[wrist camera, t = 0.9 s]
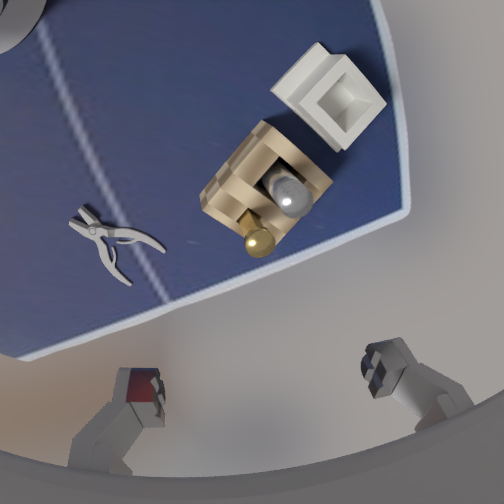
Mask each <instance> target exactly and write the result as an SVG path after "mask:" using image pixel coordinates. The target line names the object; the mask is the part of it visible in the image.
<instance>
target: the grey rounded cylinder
mask: <svg viewBox="0 0 504 504" xmlns="http://www.w3.org/2000/svg"><path fill="white" fill-rule="evenodd" d="M259 180H260V181H261V183H262V184H263V186H264V187H265V188H266V190H267V191H268V192H269V194H270V195H271V197H272V198H273V199H274V201H275V202H276V204H277V205H278V206H279V208H280V209H281V211H282V212H283V213H284V215H285V216H287V217H289V218H293V219H297V218H301V217H303V216H305V215H306V214H307V213H308V212H309V211H310V210H311V208H312V206H313V202H314V199H313V195H312V193H311V192H310V191H309V190H308V189H307V188H306V187H305V186H304V185H303V184H302V183H301V182H300V181H299V180H298V179H297V178H296V177H295V176H294V175H293V174H292V173H291V172H290V171H289V170H288V169H287V168H286V167H285V166H284V165H282V164H281V163H280V162H279V161H278V160H277V159H276V160H275V162H274V163H273V164H272V165H271V166H270V167H269V168H268V170H267V171H266V172H265V173H264V174H263V175H262V177H261V178H260V179H259Z"/></svg>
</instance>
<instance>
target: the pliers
mask: <svg viewBox="0 0 504 504" xmlns="http://www.w3.org/2000/svg"><path fill="white" fill-rule="evenodd" d="M78 212H79V213H80V214H81V216H82V217H83V218H84V220H85V221H86V222H87V224H88V225H86V224H84V223H82V222H80V221H78V220H76V219H73V218H72V219H71V220H70V222H69V225H70V226H71V227H72V228H74V229H75V230H77V231H78V232H79V233H81V234H82V235H84V236H85V237H87V238H89V239H91V240H94V241H95V242H96V244H97V246H98V249H99V254H100V257H101V260H102V262H103V263H104V265H105V266H106V268H107V269H108V270H109V271H110V272H111V273H112V274H113V275H114V276H115V277H116V278H117V279H119V280H120V281H121V282H123V283H125V284H127V285H129V286H131V285H132V283H131V282H130V281H129V280H128V279H126V278H125V277H124V276H123V275H122V274H121V273H120V272H119V271H118V269H117V268H116V267H115V261H116V252H115V249H114V247H113V246H112V250H113V254H114V260H113V261H111V259H110V257H109V254H108V250H107V245H106V244H105V243H104V241H103V240H102V239H101V238H100V237H101V236H103V235H104V236H106V237H130V238H134V239H132V240H130V241H117V243H119V244H130V243H133V242H136V241H142V242H145V243H147V244H149V245H151V246H153V247H154V248H156V249H158V250H160V251H161V252H163V253H165V252H166V250H165V249H164V248H163V247H162V246H161V245H160V244H159V243H158V242H157V241H156V240H154V239H153V238H151V237H150V236H148V235H146V234H144V233H142V232H140V231H137V230H134V229H130V228H114V227H108V226H104V225H102V224H101V223H100V222H99V220H98V219H97V218H96V217H95V216H94V215H93V214H91V213H90V212H89V211H88V210H87V209H86V208H85V207H84V206H83V205H82V206H81V207H80V208H79V210H78ZM89 225H90V226H89Z"/></svg>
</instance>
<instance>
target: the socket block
mask: <svg viewBox="0 0 504 504" xmlns="http://www.w3.org/2000/svg"><path fill="white" fill-rule="evenodd" d="M279 156H280V157H282V158H283V159H284V160H285V161H286V162H287V163H289V164H290V165H291V166H292V167H293V169H292V170H291V173H292V174H293V175H294V176H295V177H296V178H297V179H298V180H299V181H300V182H301V183H302V184H303V185H304V186H305V187H306V188H307V189H308V190H309V191H310V192H311V193H312V195H313V199H314V202H313V204H314V203H315V202H316V201H317V199H318V198H319V197H320V196H321V195H322V194H323V193H324V192H325V191H326V189H327V188H328V187H329V186H330V185H331V184H332V183H333V181H332V180H331V179H330V178H329V177H328V176H327V175H326V174H325V173H324V172H323V171H322V170H321V169H320V168H319V167H318V166H316V165H315V164H314V163H313V162H312V161H311V160H310V159H309V158H308V157H307V156H306V155H305V154H303V153H302V152H301V151H300V150H299V149H298V148H297V147H296V146H295V145H293V144H292V143H291V142H290V141H289V140H288V139H287V138H286V137H284V136H283V135H282V134H281V133H280V132H279V131H277V130H276V129H275V128H274V127H273V126H271V125H269V124H268V123H266V122H264V121H263V120H261V121H260V122H259V123H258V125H257V126H256V127H255V128H254V129H253V130H252V132H251V133H250V134H249V135H248V136H247V137H246V138H245V140H244V141H243V142H242V143H241V144H240V146H239V147H238V148H237V149H236V150H235V151H234V153H233V154H232V155H231V156H230V157H229V159H228V160H227V161H226V162H225V164H224V165H223V166H222V167H221V168H220V170H219V171H218V172H217V173H216V175H215V176H214V177H213V178H212V180H211V181H210V182H209V183H208V185H207V186H206V187H205V188H204V190H203V191H202V192H201V193H200V201H201V206H202V211H204V212H206V213H207V214H209V215H210V216H212V217H213V218H215V219H216V220H218V221H220V222H221V223H223V224H224V225H226V226H227V227H229V228H230V229H232V230H234V231H235V232H237V233H238V234H240V235H241V236H243V237H244V238H245V235H244V233H243V230H242V228H241V226H240V223H239V221H238V218H239V217H240V216H241V215H242V214H243V213H244V211H245V210H246V209H247V208H250V209H251V210H252V211H254V212H255V213H257V215H258V217H259V219H260V220H261V222H262V224H263V226H264V227H266V228H268V229H269V230H270V231H271V232H272V234H273V236H274V238H275V240H276V244H277V243H278V242H279V241H280V240H281V239H282V238H283V237H284V236H285V234H286V233H287V232H288V231H289V230H290V229H291V228H292V227H293V226H294V225H295V224H296V222H297V221H298V220H299V219H300V218H297V219H293V218H289V217H287V216H285V215H284V213H283V212H282V211H281V209H280V208H279V206H278V205H277V204H276V202H275V201H274V199H273V198H272V197H271V195H270V194H269V193H268V192H267V191H266V190H264V189H263V188H262V187H260V186H259V185H258V184H257V183H256V182H257V181H258V180H259V179H260V178H261V177H262V175H263V174H264V173H265V172H266V171H267V170H268V168H269V167H270V166H271V165H272V164H273V163H274V162H275V160H276V159H277V158H278V157H279Z"/></svg>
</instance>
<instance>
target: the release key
mask: <svg viewBox="0 0 504 504" xmlns="http://www.w3.org/2000/svg"><path fill="white" fill-rule="evenodd" d="M238 221H239V223H240V226H241V228H242V230H243V233H244V235H245V238H244V245H245V247H246V250H247V252H248V253H249V254H250V255H251V256H253V257H256V258H261V257H265V256H267V255H269V254H270V253H271V252H272V251H273V250H274V248H275V245H276V240H275V238H274V236H273V234H272V232H271V231H270V230H269V229H268V228H266V227H264V226H263V224H262V222H261V220H260V219H259V217H258V215H257V213H255V212H254V211H252V210H251V209H250V208H247V209H246V210H245V211H244V213H243V214H242V215H241V216H240V217H239V218H238Z"/></svg>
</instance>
